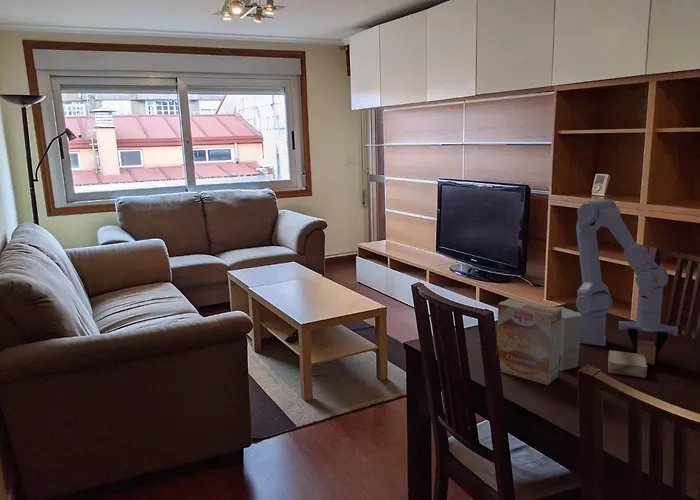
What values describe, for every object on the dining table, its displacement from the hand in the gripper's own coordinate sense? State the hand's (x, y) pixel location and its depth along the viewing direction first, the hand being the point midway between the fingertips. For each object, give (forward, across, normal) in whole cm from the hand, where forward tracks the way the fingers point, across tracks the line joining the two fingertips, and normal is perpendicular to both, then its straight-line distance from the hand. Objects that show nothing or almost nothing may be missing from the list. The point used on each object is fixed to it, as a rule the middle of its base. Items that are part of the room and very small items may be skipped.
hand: (645, 355), depth 155 cm
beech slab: (+1, -5, -8) cm, 10 cm away
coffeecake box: (+2, -30, -21) cm, 37 cm away
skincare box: (+2, -22, -11) cm, 25 cm away
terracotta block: (+1, 0, 0) cm, 1 cm away
